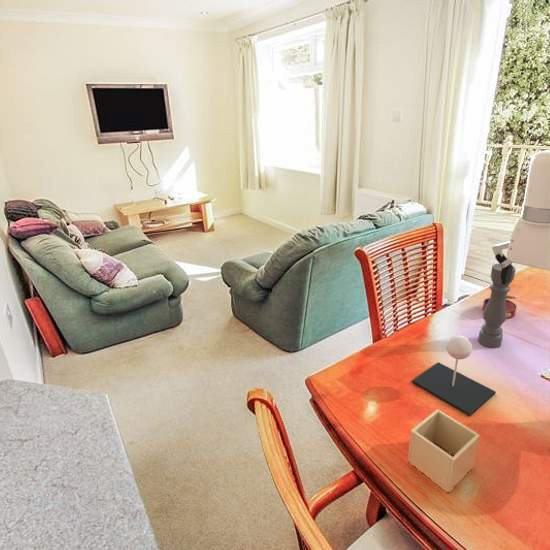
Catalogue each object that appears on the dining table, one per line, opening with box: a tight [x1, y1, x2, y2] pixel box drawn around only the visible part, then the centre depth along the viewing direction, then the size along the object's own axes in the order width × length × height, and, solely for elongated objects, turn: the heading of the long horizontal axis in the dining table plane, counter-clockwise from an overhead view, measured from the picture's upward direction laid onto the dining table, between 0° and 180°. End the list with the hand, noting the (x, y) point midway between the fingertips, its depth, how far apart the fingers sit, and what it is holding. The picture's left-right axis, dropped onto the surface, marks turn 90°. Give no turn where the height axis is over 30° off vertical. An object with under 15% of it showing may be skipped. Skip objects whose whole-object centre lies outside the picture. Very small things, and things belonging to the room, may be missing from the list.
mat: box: [411, 361, 497, 417], centre depth 98 cm, size 16×12×1 cm
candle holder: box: [477, 263, 516, 349], centre depth 110 cm, size 6×6×25 cm
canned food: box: [482, 294, 518, 320], centre depth 129 cm, size 11×10×10 cm
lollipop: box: [445, 334, 473, 386], centre depth 95 cm, size 6×6×15 cm
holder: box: [407, 408, 481, 493], centre depth 76 cm, size 9×9×9 cm
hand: (528, 289), depth 83 cm, fingers open, 9 cm apart
